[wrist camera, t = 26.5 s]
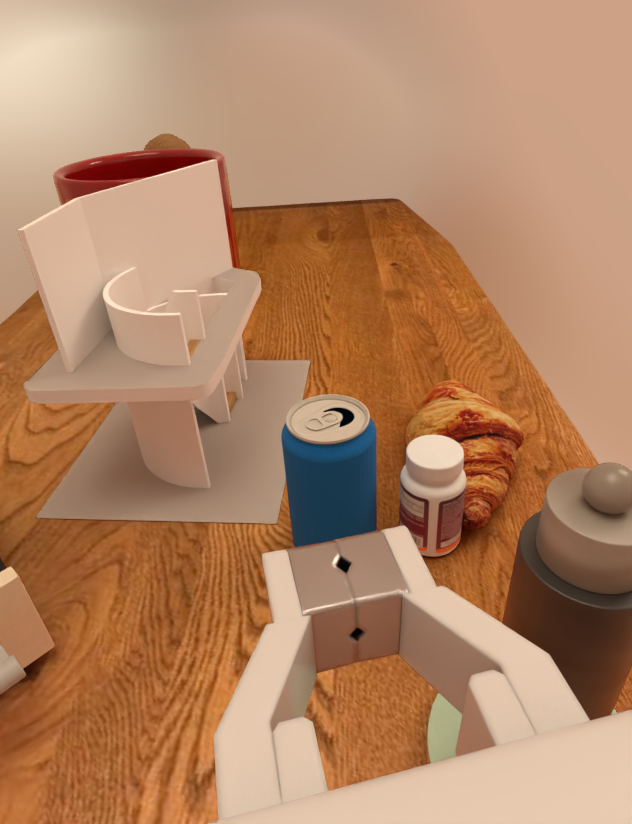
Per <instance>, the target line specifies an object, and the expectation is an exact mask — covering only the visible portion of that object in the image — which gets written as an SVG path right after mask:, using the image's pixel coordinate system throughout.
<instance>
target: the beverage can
mask: <svg viewBox="0 0 632 824" xmlns="http://www.w3.org/2000/svg"><path fill="white" fill-rule="evenodd" d="M281 440H282V448H283V457H284V466H285V474H286V483H287V491H288V500H289V508H290V517H291V526H292V534H293V542H294V546H295V547H300V546H305V545H311V544H317V543H323V542H328V541H334V540H336V539H340V538H345V537H350V536H354V535H359V534H364V533H368V532H373V531H376V428H375V425H374V423H373V421H372V419H371V418H370V414H369V411H368V409H367V407H366V406H365V405H364V404H363V403H361V402H360V401H358V400H356V399H354V398H351V397H348V396H343V395H334V394H328V395H319V396H314V397H310V398H307V399H305V400H302V401H300V402H299V403H297V404H295V405H294V406H293V407H292V408H291V409H290V410H289V412H288V413H287V416H286V423H285V425H284V427H283V429H282V434H281Z"/></svg>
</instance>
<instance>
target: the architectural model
mask: <svg viewBox="0 0 632 824" xmlns="http://www.w3.org/2000/svg"><path fill="white" fill-rule="evenodd" d="M17 231H18V234H19V237H20V240H21V243H22V245H23V248H24V251H25V254H26V257H27V260H28V263H29V265H30V268H31V271H32V274H33V277H34V280H35V282H36V285H37V288H38V291H39V294H40V297H41V300H42V303H43V305H44V308H45V311H46V314H47V317H48V320H49V323H50V325H51V328H52V331H53V334H54V337H55V340H56V343H57V345H58V348H59V349H58V350H57V351H56V352H55V353H54V354H53V355H52V356H51V357H50V358H49V359H48V360H47V361H46V362H45V363H44V364H43V365H42V366H41V367H40V368H39V369H38V370H37V371H36V372H35V373H34V374H33V375H32V376H31V377H30V378H29V379H28V380H27V381H26V382H25V384H24V388H25V391H26V393H27V396H28V398H29V401H30V402H32V403H35V404H73V403H111V402H117V403H116V404H115V406H114V407H113V409H112V410H111V411H110V413H109V414H108V416H107V417H106V418H105V420H104V421H103V423H102V424H101V426H100V427H99V428H98V430H97V431H96V433H95V434H94V435H93V437H92V438H91V440H90V441H89V443H88V444H87V445H86V447H85V448H84V450H83V451H82V452H81V454H80V455H79V457H78V458H77V460H76V461H75V462H74V464H73V465H72V467H71V468H70V469H69V471H68V472H67V474H66V475H65V477H64V478H63V479H62V481H61V482H60V484H59V485H58V487H57V488H56V489H55V491H54V492H53V494H52V495H51V496H50V498H49V499H48V501H47V502H46V504H45V505H44V506H43V508H42V509H41V511H40V512H39V513H38V515H37V516H36V518H58V519H99V520H140V521H182V522H223V523H264V524H277V520H278V515H279V511H280V506H281V501H282V496H283V491H284V486H285V482H286V474H285V466H284V457H283V448H282V440H281V434H282V429H283V427H284V425H285V423H286V416H287V413H288V412H289V410H290V409H291V408H292V407H293V406H294V405H295V404H297V403H299V402H300V401H302V399H303V395H304V390H305V385H306V380H307V375H308V371H309V366H310V361H311V360H245V354H244V348H243V341H242V333H243V330H244V328H245V326H246V324H247V321H248V319H249V317H250V315H251V312H252V310H253V308H254V306H255V303H256V301H257V299H258V297H259V294H260V292H261V290H262V289H261V280H260V277H259V275H258V273H256V272H254V271H248V270H243V269H237V268H233V267H232V260H231V253H230V246H229V239H228V232H227V225H226V219H225V212H224V205H223V198H222V191H221V184H220V177H219V171H218V164H217V160H209V161H206V162H202V163H199V164H195V165H192V166H188V167H184V168H181V169H177V170H174V171H170V172H167V173H163V174H159V175H156V176H152V177H149V178H145V179H142V180H138V181H134V182H131V183H127V184H124V185H120V186H117V187H113V188H109V189H106V190H102V191H99V192H95V193H92V194H88V195H85V196H81V197H77V198H75V199H73V200H71V201H69V202H67V203H65V204H64V205H62V206H60V207H58V208H56V209H55V210H53V211H51V212H49V213H47V214H45V215H44V216H42V217H40V218H38V219H36V220H35V221H33V222H31V223H29V224H27V225H26V226H24V227H22V228H20V229H18V230H17Z"/></svg>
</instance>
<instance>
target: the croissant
mask: <svg viewBox="0 0 632 824" xmlns="http://www.w3.org/2000/svg"><path fill="white" fill-rule="evenodd" d="M424 435H442V436H446V437H449V438H451V439H453V440H455V441H456V442H458V443H459V444H460V445H461V447H462V448H463V451H464V466H463V470H464V472H465V474H466V491H465V500H464V509H463V518H462V525H463V526H464V527H466V528H467V529H469V530H470V529H477V528H482V527H484V525H487V523H488V521H489V519H490V517H491V516H490V512H492V511H493V510H494V509H496V508H497V507H499V506H500V505H501V503H502V502H503V500H504V496H505V492H506V490H507V489H508V488H507V486H508V485H509V481H510V480H511V479H512V476H513V474H514V471H515V468H516V464H517V462H516V451H517V449H518V448H519V447H520V446H521V445H522V442H523V440H524V437H523V432H522V431H521V429H520V427H519V426H518V424H517V423H516V422H515V420H514V419H513V418H511V417H510V416H509V415H506V414H504V413H503V412H501V411H499V410H498V408H497V407H496V406H495V405H493V404H491V403H490V402H489V401H487V400H485V399H484V398H482V397H480V396H478V395H477V394H475V393H474V391H473V390H471V389H470V388H469V387H467V386H466V385H464V384H461V383H459V382H458V381H456V380H455V379H453V380H450V381H444V382H441V383H439V384H437V385H436V386H435V387H434V388H433V389H432V390H429V391H428V393H427V394H426V395H424V396H423V397H422V398H421V400H420V402H419V403H418V405H417V410H416V415H415V417H414V418H413V419H412V420H411V421H410V423H409V424H408V426H407V429H406V430H405V443H406V446H408V444H409V443H410V442H411V441H412V440H414V439H416V438H418V437H421V436H424Z"/></svg>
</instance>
